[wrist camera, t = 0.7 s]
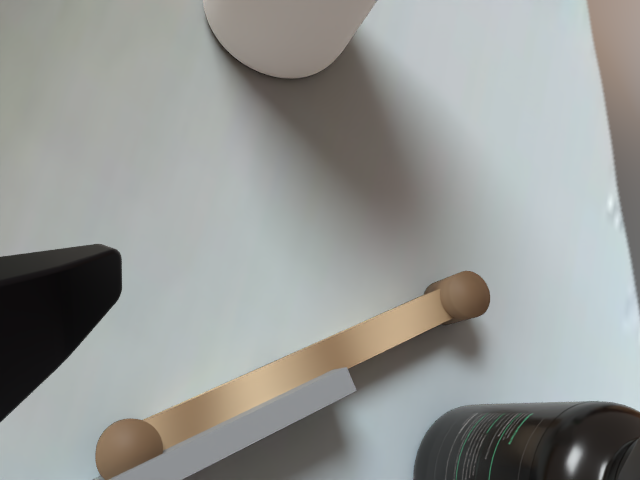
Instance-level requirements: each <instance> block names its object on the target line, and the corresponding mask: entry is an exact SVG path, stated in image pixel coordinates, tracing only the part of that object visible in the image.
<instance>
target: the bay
mask: <svg viewBox="0 0 640 480" xmlns="http://www.w3.org/2000/svg"><path fill="white" fill-rule="evenodd" d="M355 391H357V390H356V388H355V385H354V383H353V380H352V378H351V376H350V373H349V371H348V369H347V367H344V368H339V369H334V370H331V371H329V372H327V373H325V374H323V375H321V376H318V377H316V378H314V379H312V380H310V381H308V382H306V383H304V384H302V385H300V386H298V387H295V388H293V389H291V390H289V391H287V392H285V393H283V394H281V395H279V396H277V397H274V398H272V399H270V400H268V401H266V402H264V403H262V404H260V405H258V406H256V407H254V408H251V409H249V410H247V411H245V412H243V413H241V414H239V415H237V416H235V417H233V418H230V419H228V420H226V421H224V422H222V423H220V424H218V425H216V426H214V427H212V428H210V429H207V430H205V431H203V432H201V433H199V434H197V435H195V436H193V437H191V438H189V439H186V440H184V441H182V442H180V443H178V444H176V445H174V446H172V447H170V448H168V449H166V450H163V454H161V455H159V456H157V457H155V458H153V459H150V460H148V461H146V462H144V463H142V464H140V465H138V466H136V467H134V468H132V469H130V470H128V471H125V472H123V473H121V474H119V475H117V476H115V477H113V478H111V479H109V480H182V479H184V478H186V477H188V476H190V475H192V474H194V473H196V472H198V471H200V470H202V469H204V468H206V467H208V466H210V465H212V464H214V463H216V462H218V461H220V460H222V459H224V458H226V457H227V456H229V455H231V454H233V453H235V452H237V451H239V450H241V449H243V448H245V447H247V446H249V445H251V444H253V443H255V442H257V441H259V440H261V439H263V438H265V437H267V436H269V435H271V434H273V433H275V432H277V431H279V430H281V429H283V428H285V427H286V426H288V425H290V424H292V423H294V422H296V421H298V420H300V419H302V418H304V417H306V416H308V415H310V414H312V413H314V412H316V411H318V410H320V409H322V408H324V407H326V406H328V405H330V404H332V403H334V402H336V401H338V400H340V399H342V398H344V397H345V396H347V395H349V394H351V393H353V392H355ZM94 480H105V479H104V478H103V477H102V476H100V477H98V478H96V479H94Z"/></svg>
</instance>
